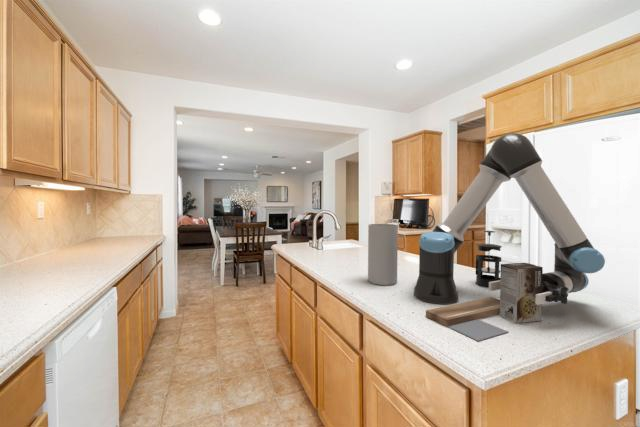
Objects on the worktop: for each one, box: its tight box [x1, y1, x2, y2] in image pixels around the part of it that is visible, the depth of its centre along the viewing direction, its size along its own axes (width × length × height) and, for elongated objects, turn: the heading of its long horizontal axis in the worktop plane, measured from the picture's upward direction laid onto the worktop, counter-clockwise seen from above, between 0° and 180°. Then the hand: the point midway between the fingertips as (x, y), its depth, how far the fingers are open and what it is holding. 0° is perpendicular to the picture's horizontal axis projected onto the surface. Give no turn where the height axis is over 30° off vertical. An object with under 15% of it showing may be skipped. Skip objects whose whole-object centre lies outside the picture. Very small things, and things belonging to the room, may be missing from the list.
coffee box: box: [499, 262, 544, 324], centre depth 86 cm, size 9×6×16 cm
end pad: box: [447, 319, 509, 342], centre depth 78 cm, size 9×12×1 cm
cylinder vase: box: [367, 223, 399, 286], centre depth 126 cm, size 12×12×25 cm
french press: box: [475, 230, 503, 289], centre depth 122 cm, size 12×9×23 cm
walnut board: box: [425, 296, 500, 328], centre depth 90 cm, size 8×30×2 cm, turn 115°
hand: (511, 292), depth 86 cm, fingers open, 13 cm apart
